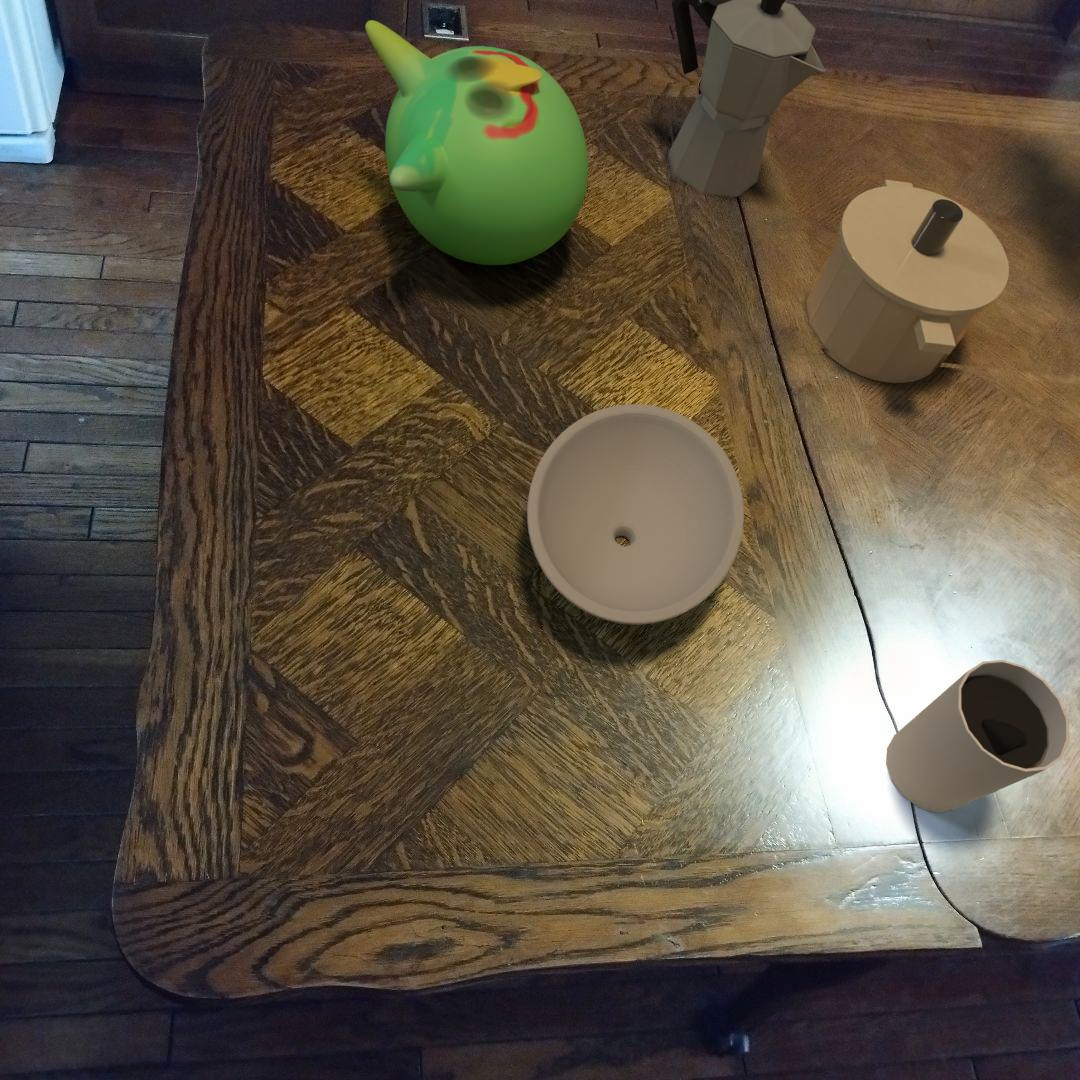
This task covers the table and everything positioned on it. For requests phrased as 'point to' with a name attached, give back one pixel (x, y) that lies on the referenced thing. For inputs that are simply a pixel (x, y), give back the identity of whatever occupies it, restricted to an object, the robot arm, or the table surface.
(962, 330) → the pot
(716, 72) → the coffee maker
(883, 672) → the table surface
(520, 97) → the toy bird
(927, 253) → the lid
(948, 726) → the grey cup
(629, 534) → the dish
